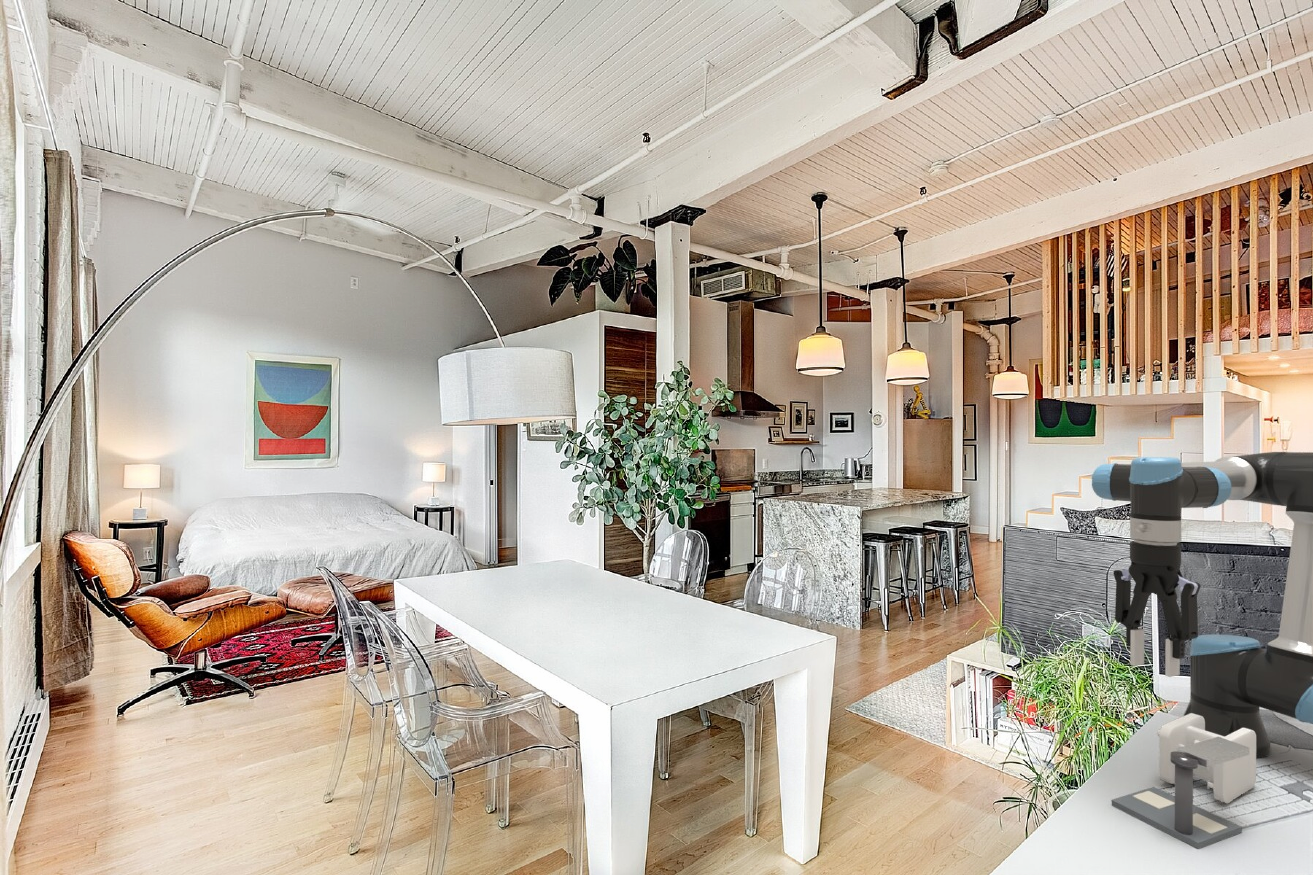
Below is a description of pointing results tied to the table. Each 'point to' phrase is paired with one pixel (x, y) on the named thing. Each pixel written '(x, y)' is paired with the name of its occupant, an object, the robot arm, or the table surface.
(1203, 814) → the label board
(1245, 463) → the robot arm
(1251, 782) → the cable organizer
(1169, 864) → the table surface
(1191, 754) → the grey lever handle
